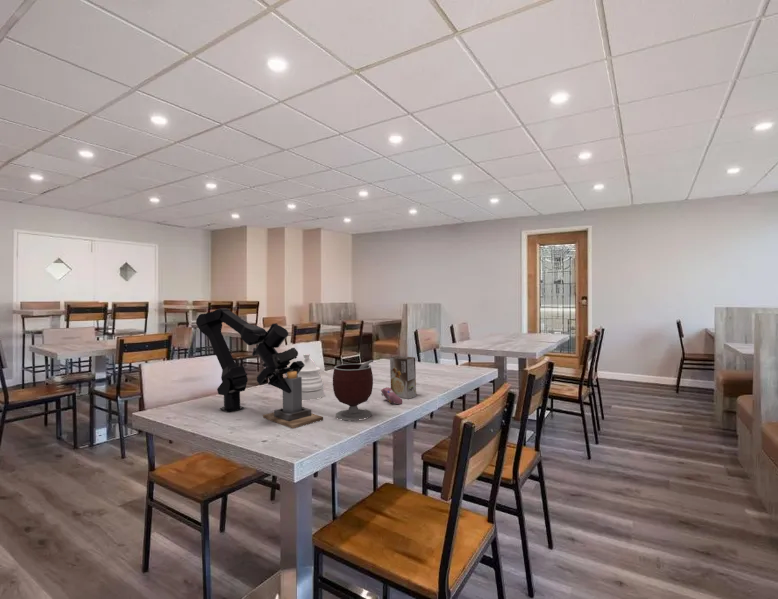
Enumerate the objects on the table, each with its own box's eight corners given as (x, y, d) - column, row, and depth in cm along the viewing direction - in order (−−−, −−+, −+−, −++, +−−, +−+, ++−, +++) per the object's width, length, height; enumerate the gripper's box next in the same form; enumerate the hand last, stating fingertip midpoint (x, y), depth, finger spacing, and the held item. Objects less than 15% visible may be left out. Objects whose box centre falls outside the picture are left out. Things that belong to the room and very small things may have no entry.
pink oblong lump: (385, 403, 163) (377, 388, 162) (394, 397, 165) (386, 382, 164) (394, 409, 154) (386, 393, 153) (404, 403, 156) (396, 387, 154)
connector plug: (282, 413, 138) (282, 372, 138) (291, 410, 142) (291, 370, 142) (293, 415, 136) (292, 373, 136) (302, 411, 140) (301, 371, 140)
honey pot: (320, 400, 164) (319, 355, 163) (288, 400, 164) (288, 356, 164) (326, 393, 176) (325, 351, 176) (296, 393, 177) (296, 351, 177)
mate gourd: (324, 417, 140) (323, 359, 139) (350, 408, 151) (349, 354, 151) (360, 425, 131) (359, 362, 131) (385, 414, 142) (384, 357, 142)
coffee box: (417, 396, 168) (416, 357, 168) (408, 399, 163) (407, 359, 163) (399, 393, 174) (398, 355, 174) (389, 396, 169) (389, 357, 168)
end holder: (263, 417, 141) (263, 409, 141) (292, 410, 150) (292, 402, 150) (292, 428, 128) (292, 419, 128) (323, 419, 137) (323, 410, 137)
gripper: (262, 344, 132) (289, 380, 127) (300, 338, 149) (325, 370, 144) (245, 366, 136) (270, 403, 131) (283, 358, 153) (307, 391, 148)
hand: (295, 391), depth 138 cm, fingers closed on connector plug, 4 cm apart
